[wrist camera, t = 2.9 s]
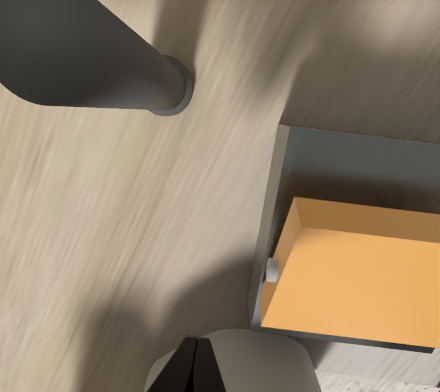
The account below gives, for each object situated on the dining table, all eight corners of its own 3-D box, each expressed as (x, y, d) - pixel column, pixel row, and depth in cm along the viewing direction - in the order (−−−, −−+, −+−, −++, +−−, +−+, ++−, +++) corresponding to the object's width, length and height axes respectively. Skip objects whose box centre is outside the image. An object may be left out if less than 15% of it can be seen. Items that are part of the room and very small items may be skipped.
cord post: (195, 60, 14) (116, -54, 4) (190, 118, 15) (118, 129, 5) (139, 54, 14) (-61, -75, 4) (138, 112, 15) (-29, 111, 5)
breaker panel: (470, 147, 15) (560, 160, 11) (400, 316, 18) (447, 372, 14) (278, 124, 15) (296, 128, 11) (247, 297, 18) (251, 348, 14)
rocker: (591, 233, 10) (642, 268, 8) (464, 321, 14) (486, 354, 13) (286, 195, 10) (292, 225, 8) (254, 296, 14) (254, 325, 13)
